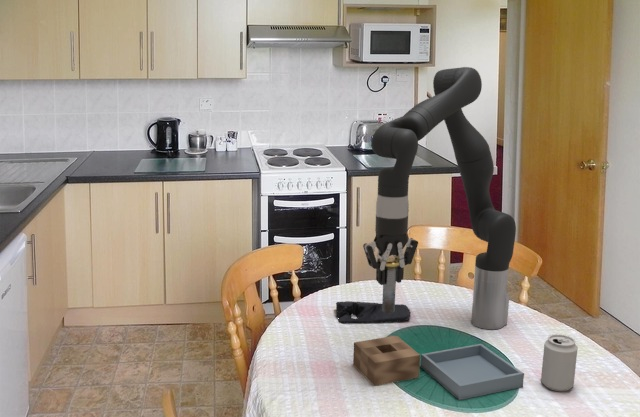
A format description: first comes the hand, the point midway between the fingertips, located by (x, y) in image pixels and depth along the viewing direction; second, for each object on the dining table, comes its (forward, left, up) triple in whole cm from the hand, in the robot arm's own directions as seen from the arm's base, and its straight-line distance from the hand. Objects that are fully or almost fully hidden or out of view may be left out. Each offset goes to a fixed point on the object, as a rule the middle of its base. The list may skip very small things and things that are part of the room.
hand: (389, 282), depth 174 cm
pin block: (0, 0, -23) cm, 23 cm away
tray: (-18, +10, -23) cm, 31 cm away
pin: (0, 0, -7) cm, 7 cm away
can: (-35, +21, -23) cm, 47 cm away
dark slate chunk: (-13, -34, -24) cm, 43 cm away
